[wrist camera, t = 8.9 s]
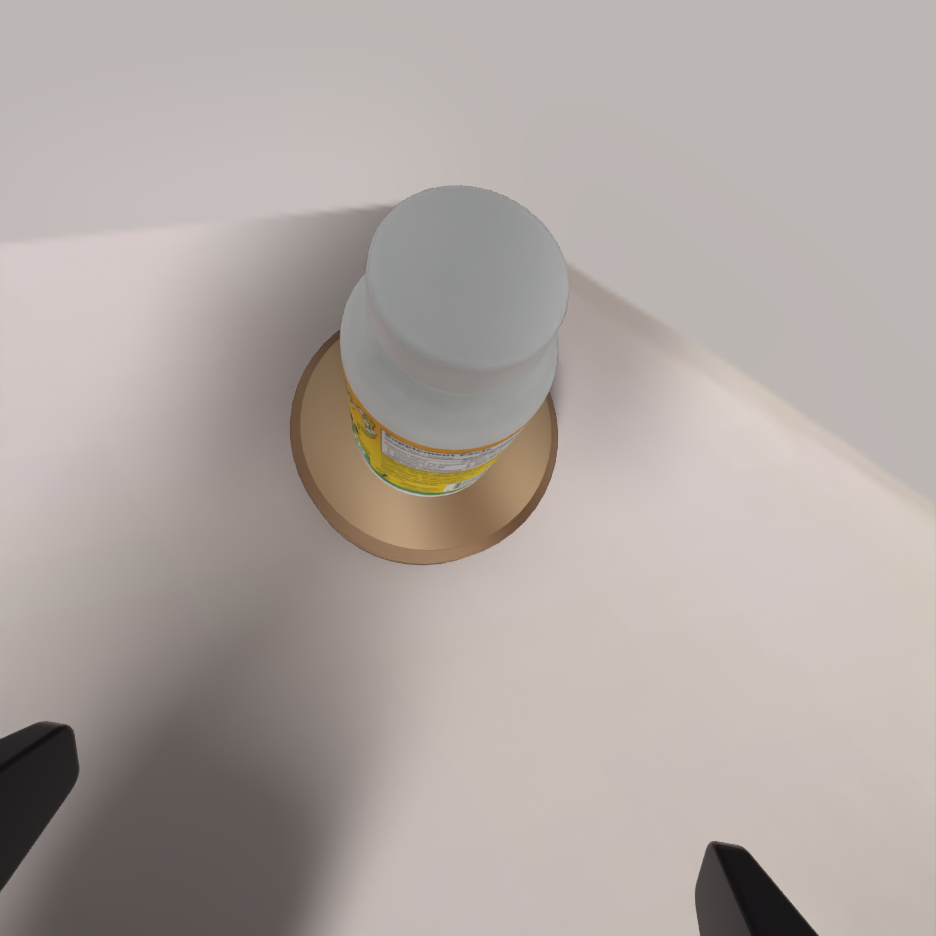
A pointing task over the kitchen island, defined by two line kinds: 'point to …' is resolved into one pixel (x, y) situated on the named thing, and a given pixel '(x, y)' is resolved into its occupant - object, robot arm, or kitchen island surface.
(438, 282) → the supplement bottle
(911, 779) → the kitchen island surface
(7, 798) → the robot arm
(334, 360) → the pedestal
